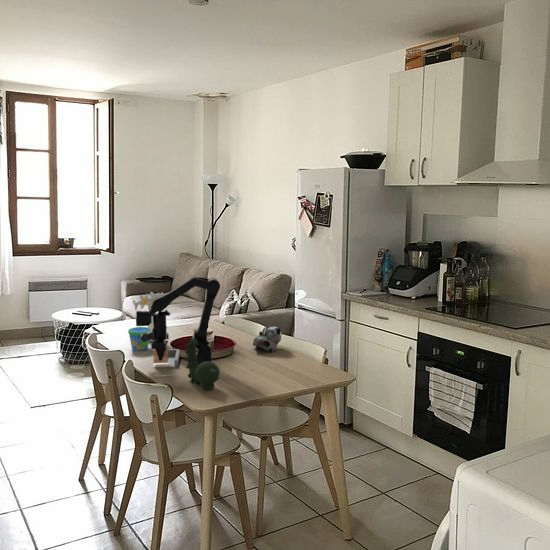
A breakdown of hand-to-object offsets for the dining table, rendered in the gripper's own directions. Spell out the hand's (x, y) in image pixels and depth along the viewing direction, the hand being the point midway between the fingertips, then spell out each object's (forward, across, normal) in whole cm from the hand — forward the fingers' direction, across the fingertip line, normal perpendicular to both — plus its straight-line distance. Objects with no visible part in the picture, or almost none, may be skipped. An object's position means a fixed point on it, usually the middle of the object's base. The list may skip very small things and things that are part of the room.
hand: (160, 359), depth 277 cm
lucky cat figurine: (+4, -22, +49) cm, 54 cm away
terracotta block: (+1, 0, 0) cm, 1 cm away
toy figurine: (+3, +27, +19) cm, 34 cm away
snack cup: (+3, -28, -13) cm, 30 cm away
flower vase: (+3, -44, -9) cm, 45 cm away
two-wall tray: (+3, -6, +1) cm, 6 cm away
